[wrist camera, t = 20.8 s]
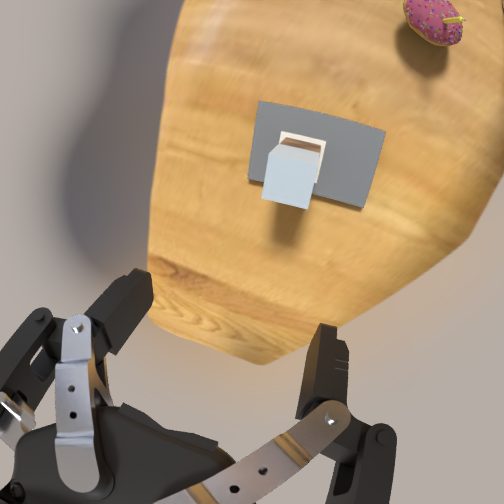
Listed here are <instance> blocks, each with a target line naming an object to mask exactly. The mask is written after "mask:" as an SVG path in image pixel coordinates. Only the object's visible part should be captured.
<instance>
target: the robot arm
mask: <svg viewBox="0 0 504 504" xmlns="http://www.w3.org/2000/svg"><path fill="white" fill-rule="evenodd" d="M502 4H503V9H504V0H502ZM153 298H154V295H153V287H152V279H151V274H150V273H149V272H146V271H143V270H140V269H137V268H135V269H133V271H131V273H130V274H129V275H128V276H125V275H124V276H122V277H120V278H118V279H116V280H115V281H114V282H113V283H112V284H111V285H110V286H109V287H108V288H107V289H106V290H105V291H104V292H103V294H102V295H100V297H99V298H98V299H97V300H96V301H95V302H94V303H93V304H92V305H91V306H90V308H89V309H88V310H87V311H86V312H85V313H84V314H83V315H82V314H76V315H73V316H71V317H69V318H68V319H61V318H55V317H53V315H52V313H51V311H50V310H49V309H47V308H38V309H36V310H34V311H33V312H32V313H31V314H30V315H29V316H28V317H27V319H26V320H25V321H24V322H23V323H22V324H21V326H20V327H19V328H18V329H17V330H16V332H15V333H14V334H13V336H12V337H11V338H10V339H9V341H8V342H7V343H6V344H5V346H4V347H3V349H2V350H1V351H0V438H1V439H2V440H3V441H4V442H5V443H6V444H7V445H8V446H9V447H10V448H11V449H12V450H13V451H14V452H15V463H14V471H13V475H12V478H11V480H10V482H9V483H8V484H7V485H6V486H5V487H4V488H3V489H1V490H0V504H256V501H258V500H259V499H261V498H262V497H264V496H265V495H267V494H268V493H269V492H271V491H273V490H274V489H275V488H277V487H278V486H279V485H281V484H282V483H284V482H285V481H286V480H288V479H289V478H290V477H292V476H293V475H294V474H296V473H297V472H298V471H299V470H301V469H302V468H303V467H304V466H306V465H307V464H308V463H309V462H310V460H312V459H313V458H314V457H315V456H316V455H318V454H319V453H321V454H322V455H325V456H327V457H329V458H331V459H333V460H335V461H336V463H335V467H334V472H333V476H332V480H331V485H330V488H329V492H328V496H327V500H326V503H325V504H389V500H390V494H391V488H392V482H393V473H394V466H395V457H396V445H397V436H396V433H395V431H394V430H393V428H392V427H390V426H389V425H387V424H383V423H379V424H375V425H373V426H370V425H368V424H366V423H364V422H361V421H359V420H357V419H356V418H355V417H354V416H353V415H352V414H351V413H350V411H349V410H348V407H347V387H348V365H349V364H348V361H349V350H348V348H347V345H346V343H345V341H342V340H338V339H337V327H335V326H331V325H327V324H323V323H320V324H319V326H318V328H317V330H316V333H315V335H314V337H313V339H312V341H311V343H310V346H309V349H308V352H307V357H306V362H305V369H304V375H303V380H302V386H301V392H300V396H299V402H298V407H297V412H296V417H295V419H299V420H301V421H300V422H298V423H297V424H296V425H294V426H293V427H292V428H290V429H289V430H288V431H287V432H285V433H283V434H280V435H278V436H277V437H275V438H274V439H272V440H271V441H269V442H268V443H266V444H265V445H263V446H262V447H260V448H259V449H257V450H256V451H254V452H253V453H251V454H250V455H248V456H246V457H245V458H243V459H242V460H240V461H238V462H237V463H236V462H235V460H234V459H233V458H232V457H231V456H230V455H229V454H228V453H227V452H225V451H224V450H222V449H221V448H219V447H218V442H217V441H214V440H211V439H208V438H205V437H202V436H200V435H197V434H194V433H187V432H180V431H174V430H168V429H165V428H163V427H162V426H161V425H159V424H158V423H157V422H155V421H154V420H153V419H151V418H150V417H149V416H148V415H146V414H145V413H144V412H141V411H139V410H137V409H135V408H133V407H131V406H129V405H127V404H125V403H123V404H122V405H121V407H116V406H114V405H113V401H112V398H111V395H110V391H109V384H108V376H107V365H106V358H105V356H106V354H107V353H108V352H110V353H112V354H114V355H117V353H118V352H119V350H120V349H121V348H122V346H123V345H124V343H125V342H126V340H127V339H128V338H129V336H130V335H131V334H132V332H133V331H134V329H135V328H136V327H137V325H138V324H139V322H140V321H141V320H142V318H143V317H144V316H145V314H146V313H147V312H148V310H149V309H150V307H151V305H152V303H153ZM41 346H42V348H43V349H42V350H41V352H40V353H39V354H38V356H37V357H36V358H35V360H34V361H33V362H32V364H31V365H30V361H31V359H32V358H33V356H34V355H35V353H36V352H37V351H38V349H39V348H40V347H41ZM54 379H55V409H56V423H54V424H51V425H48V426H45V427H42V428H39V429H35V430H32V429H33V428H34V427H35V426H36V422H35V420H34V419H35V417H34V416H35V415H34V411H35V410H36V408H37V406H38V405H39V403H40V401H41V400H42V398H43V396H44V395H45V393H46V391H47V390H48V388H49V387H50V385H51V383H52V382H53V380H54Z"/></svg>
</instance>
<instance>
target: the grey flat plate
mask: <svg viewBox="0 0 504 504" xmlns="http://www.w3.org/2000/svg"><path fill="white" fill-rule="evenodd" d="M385 133H386V132H385V131H383V130H380V129H377V128H374V127H371V126H368V125H364V124H361V123H358V122H354V121H351V120H347V119H344V118H340V117H336V116H332V115H328V114H324V113H320V112H316V111H311V110H307V109H302V108H297V107H292V106H287V105H282V104H276V103H270V102H264V101H259V103H258V109H257V116H256V123H255V129H254V136H253V143H252V150H251V157H250V164H249V171H248V178H247V179H251V180H256V181H260V182H264V180H265V174H266V168H267V162H268V155H269V153H270V152H271V151H272V150H273V149H274V148H275V147H276V146H277V145H278V144H280V143H281V142H282V141H283V140H284V139H285V138H286V137H288V138H292V139H297V140H301V141H305V142H310V143H314V144H318V145H321V152H320V157H319V163H318V168H317V172H316V177H315V181H314V185H313V190H312V194H315V195H318V196H322V197H326V198H330V199H333V200H337V201H341V202H344V203H348V204H351V205H355V206H358V207H362V208H364V205H365V202H366V199H367V196H368V193H369V190H370V187H371V183H372V180H373V177H374V173H375V170H376V166H377V163H378V159H379V156H380V152H381V149H382V145H383V141H384V137H385Z"/></svg>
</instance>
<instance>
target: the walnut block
mask: <svg viewBox="0 0 504 504" xmlns="http://www.w3.org/2000/svg"><path fill="white" fill-rule="evenodd" d="M280 144H282V145H287V146H292V147H296V148H301V149H305V150H309V151H314V152H318V153H320V152H321V145H318V144H314V143H310V142H305V141H301V140H297V139H292V138H288V137H286V138H285V139H284V140H283V141H282V142H281V143H280ZM319 157H320V155H319Z"/></svg>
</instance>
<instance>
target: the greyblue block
mask: <svg viewBox="0 0 504 504" xmlns="http://www.w3.org/2000/svg"><path fill="white" fill-rule="evenodd" d="M319 155H320V153H318V152H314V151H309V150H305V149H301V148H296V147H292V146H287V145H282V144H278V145H277V146H276V147H275V148H274V149H273V150H272V151H271V152H270V153H269V155H268V162H267V168H266V174H265V180H264V186H263V192H262V199H266V200H271V201H275V202H279V203H283V204H287V205H292V206H296V207H300V208H304V209H308V206H309V202H310V198H311V194H312V190H313V185H314V181H315V177H316V172H317V168H318V163H319Z"/></svg>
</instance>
